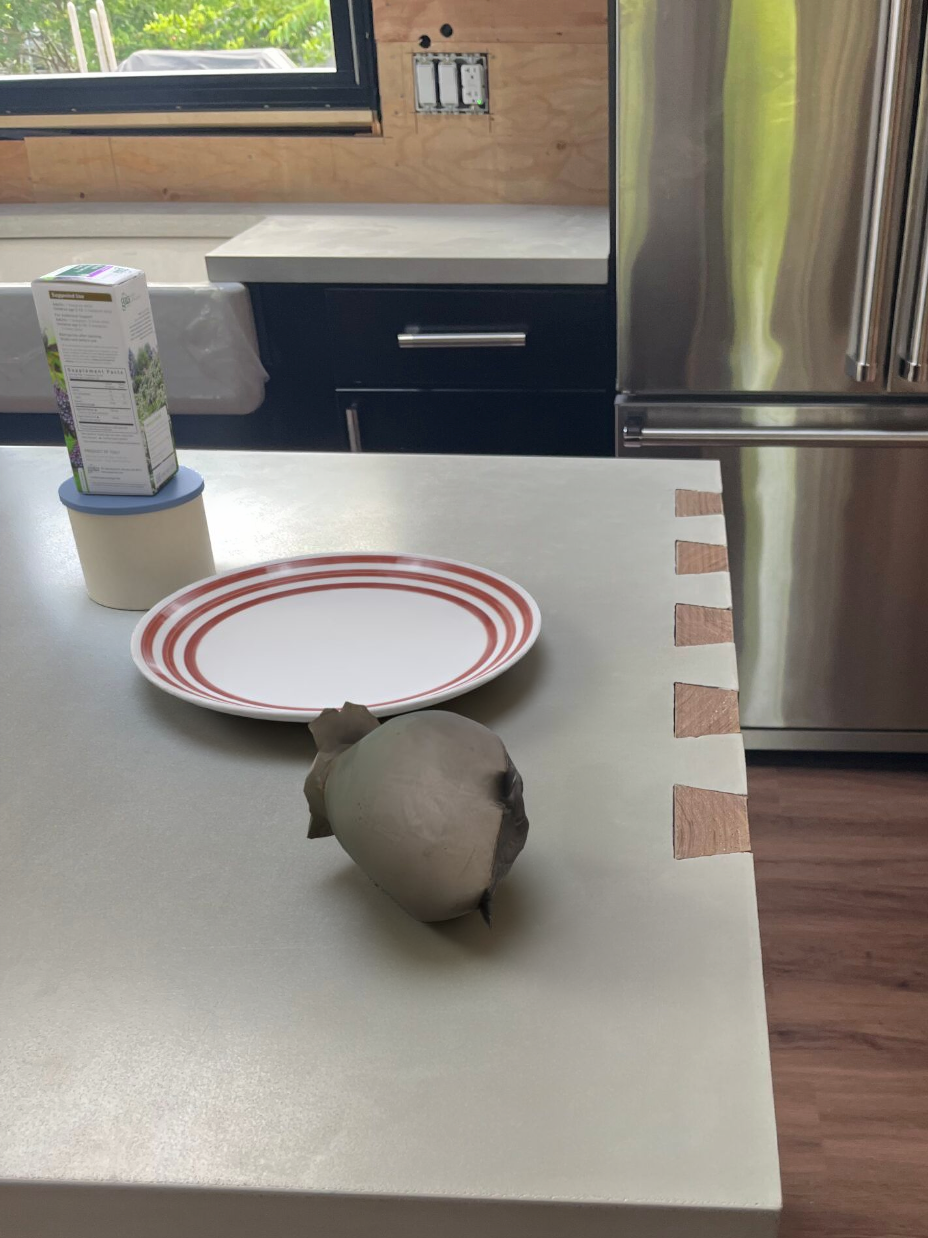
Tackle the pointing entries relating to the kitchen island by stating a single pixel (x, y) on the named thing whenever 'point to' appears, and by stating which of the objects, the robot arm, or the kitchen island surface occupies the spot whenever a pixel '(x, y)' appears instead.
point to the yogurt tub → (141, 541)
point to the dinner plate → (335, 634)
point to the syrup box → (107, 378)
